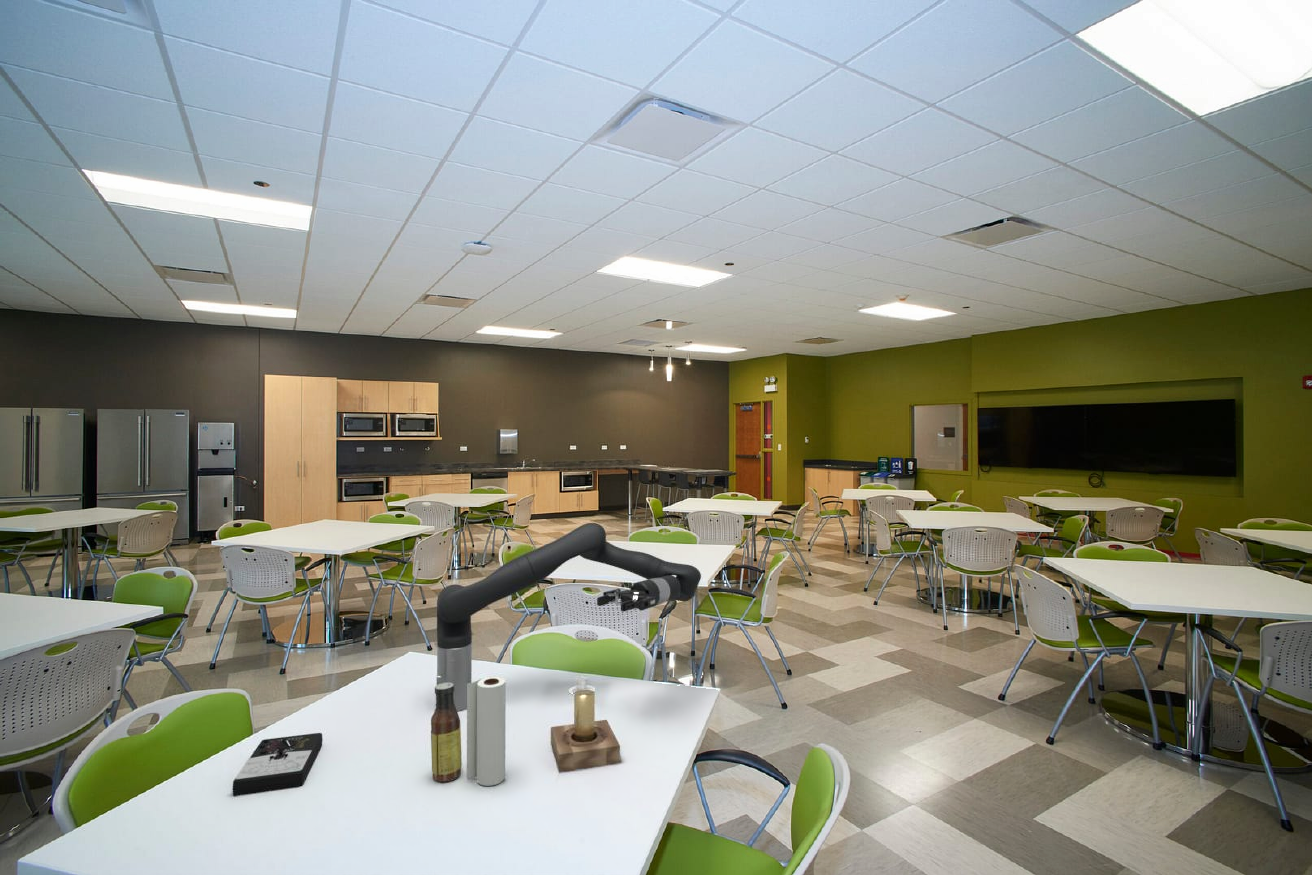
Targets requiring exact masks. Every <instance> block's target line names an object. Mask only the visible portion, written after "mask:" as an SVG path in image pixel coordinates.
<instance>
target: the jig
mask: <svg viewBox="0 0 1312 875" xmlns="http://www.w3.org/2000/svg"><path fill="white" fill-rule="evenodd" d="M550 745H551V749H552V753H553V756H554V759H555V763H556V767H557V770H558V771H557V772H558V773H559V774H560V773H565V772H571V771H577V770H578V771H579V770H585V769H590V768H597V767H602V766H603V767H604V766H609V765H610V766H611V765H616V764H617V765H618V764H620V763H621V744H620V743H619V741H618V738H617V737H616V735H615V733H614V731H613V728H612V727H611V725H610V724H609V721H608V720H607V719H602V720H601V719H600V720H595V729H594V740H593V741H590V742H584V743H582V742H576V741H574V723H572V724H565V725H556V726H550Z"/></svg>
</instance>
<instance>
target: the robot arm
mask: <svg viewBox="0 0 1312 875" xmlns="http://www.w3.org/2000/svg"><path fill="white" fill-rule="evenodd" d="M578 556H580V557H581V558H583V559H585V560H588V561H593V562H595V563H596V562H597V563H600V564H604V565H608V566H611V567H615V568H617V569H621V570H624V571H625V572H630V573H632V574H635V575H637V576H639V577H641V578H644V579H645V580H640V581H637V582H634V583H633V584H632V586H631V587H630V589H625V590H621V588H617V589H612V590H609V591H603V593H602V596H598V597H597V598H596V605H597V606H599V607H602V606H605V605H608V604H615V605H616V606H620V612H623V613H624V612H629V611H630V610H634V611H635V610H639V611H646V610H647V609H651V608H654V607H657V606H660V605H663V604H664V603H666V602H669V601H678V602H688V601H691V599H692V598H693V597H694V595H695V594H696V591H697V589H698V586H699V584H700V582H701V579H702V574H701V572H700V570H699V569H698V568H696V566H693V565H690V564H684V563H679V562H678V563H677V562H672V561H666V560H663V559H661V558H659V557H656V556H655V555H652V554H650V553H646V552H642V551H638V550H637V551H636V550H629V549H626V548H622V547H618V546H616V545H613V544H612V543H610V542H609V541H607V534H606V530H605V528H604V527H603V526H602V525H601V524H599V523H597V522H587V523H585V524H581V525H580V526H578V527H577V528H575V529H573V530H572V531H570V532H568V533H566V534H565V535H563V536H561V537H559V538H557V539H555V540H554V541H551V542H548V543H546V544H544V545H542V546H539V547H537V548H536V549H535V548H534V549H533V550H531V551H529V552H526V553H524V554H522V555H519V556H517V557H516V558H513V559H511V560H509V561H507V562H506V563H504V564H503V565H501V566H500V567H498V568H497V569H495V570H494V571H493V572H492V573H491V574H489V575H488V576H487V577H485V578H483V579H481V580H479V581H476V582H474V583H472V584H469V585H466V586H464V585H461V584H455V583H454V584H449V585H447V586H445V587H444V588H443V589H442V590H440V593H439V594H438V596H437V599H436V642H437V643H436V644H437V646H436V649H437V651H436V652H437V654H436V655H437V658H436V685H438V684H441V683H452V684H454V692H453V696H454V704H455V707H456V710H457V712H461V711H463V710H467V684H469V683H472V682H473V681H472V680H473V679H472V672H473V671H472V667H473V666H472V664H473V663H472V661H473V660H472V659H473V658H472V649H473V648H472V645H473V644H472V642H473V641H472V640H473V636H472V635H473V634H472V632H473V631H472V616H474V615H475V614H476V613H478V612H480V611H481V610H483V609H484V608H486V607H488V606H490V605H492V604H494V603H495V602H499V601H500V600H503V599H505V598H507V597H510V596H512V595H514V594H517V593H519V592H520V591H523V590H526V589H527V588H530V587H532V586H534V585H536V584H538V583H540V582H542V581H544V580H545V579H546V578H547V577H549V576H551V574H553V573H554V572H555V571H556V570H557V569H559V568H560V567H561V566H562V565H563V564H565V563H566V562H568V561H570V560H572V559H573V558H574V559H575V558H576V557H578ZM619 600H620V601H619Z"/></svg>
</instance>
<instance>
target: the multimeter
mask: <svg viewBox="0 0 1312 875" xmlns="http://www.w3.org/2000/svg"><path fill="white" fill-rule="evenodd" d="M322 747H323V733H321V732H316V733H315V732H314V733H308V734H307V733H305V734H298V735H292V736H291V735H290V736H281V737H273V738H265V739H262V740H261V741H260V742H259V744H258V745H257V747H256V748H255V749H254V751H253V753H252V754H251V755H250V757H249V758H248V759H247V761H246V763H245V764H244V766H243V767H242V768H241V770H240V771H239V773H238V774H237V775H236V777H235V778H234V780H233V781H232V796H233V797H239V796H245V795H246V796H247V795H252V794H260V793H266V792H272V791H273V792H274V791H281V790H288V789H296V788H301V787H303V786H304V785H305V782H306V780H307V778H308V776H309V774H310V772H311V769H312V768H313V766H314V763H315V761H316V760H317V758H318V755H319V753H320V751H321V749H322Z"/></svg>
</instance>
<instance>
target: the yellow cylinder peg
mask: <svg viewBox="0 0 1312 875" xmlns="http://www.w3.org/2000/svg"><path fill="white" fill-rule="evenodd" d="M587 689H588V688H586V689H585V690H579V691H578V690H576V691H575V692H573V693H574V695H573V696H574V697H573V700H574V703H573V706H574V707H573V708H574V710H573V711H574V712H573V714H574V715H573V718H574V722H573V724H574V741H576V742H582V743H584V742H590V741H593V740H594V729H595V721H596V720H595V716H596V714H595V712H596V711H595V709H596V708H595V707H596V706H595V705H596V703H595V701H596V700H595V699H596V698H595V692H596V691H595V692H594V691H592V689H591V690H587Z"/></svg>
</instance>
